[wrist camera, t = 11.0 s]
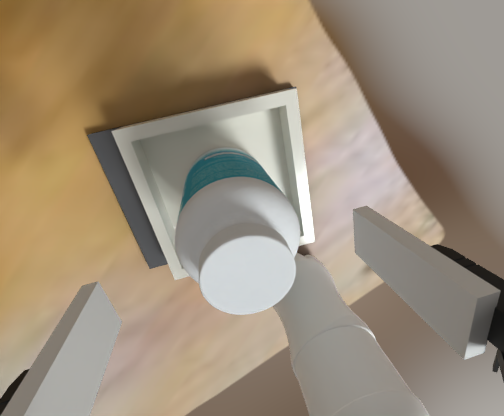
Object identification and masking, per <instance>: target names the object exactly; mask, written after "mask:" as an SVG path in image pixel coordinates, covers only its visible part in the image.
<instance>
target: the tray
mask: <svg viewBox="0 0 504 416" xmlns="http://www.w3.org/2000/svg"><path fill="white" fill-rule="evenodd" d="M112 134H113V136H114V138H115V141H116V143H117V145H118V148H119V150H120V152H121V155H122V157H123V160H124V162H125V164H126V167H127V169H128V171H129V174H130V176H131V178H132V181H133V183H134V185H135V188H136V190H137V192H138V195H139V197H140V199H141V202H142V204H143V206H144V209H145V211H146V213H147V216H148V218H149V220H150V223H151V225H152V227H153V230H154V232H155V234H156V237H157V239H158V241H159V244H160V246H161V248H162V251H163V253H164V255H165V258H166V260H167V263H168V265H169V267H170V270H171V272H172V274H173V277H174V279H175V280H177V279H181V278H184V277H188V276H190V275H189V274H188V273H187V272H186V271H185V269H184V268H183V266H182V265H181V263H180V261H179V259H178V256H177V252H176V247H175V231H176V226H177V220H178V216H179V211H180V205H181V200H182V195H183V189H184V184H185V180H186V176H187V173H188V171H189V169H190V167H191V166H192V164H193V163H194V162H195V161H196V159H197V158H199V157H200V156H201V155H203V154H204V153H206V152H208V151H210V150H213V149H216V148H222V147H230V148H236V149H240V150H242V151H245V152H247V153H248V154H250V155H251V156H253V157H254V158H255V159H256V160H257V161H258V162H259V164H260V165H261V166H262V167H263V169H264V170H265V171H266V173H267V174H268V175H269V176H270V178H271V179H272V180H273V181H274V183H275V184H276V185H277V186H278V188H279V189H280V190H281V191H282V193H283V194H284V195H285V196H286V198H287V199H288V200H289V202H290V203H291V205H292V206H293V208H294V210H295V212H296V214H297V217H298V220H299V225H300V242H299V246H301V245H304V244H308V243H312V242H315V238H314V230H313V221H312V213H311V205H310V196H309V188H308V179H307V171H306V162H305V154H304V146H303V137H302V129H301V120H300V112H299V103H298V95H297V88H295V89H284V90H280V91H276V92H271V93H267V94H263V95H258V96H254V97H250V98H245V99H241V100H237V101H232V102H228V103H224V104H219V105H215V106H211V107H206V108H202V109H198V110H193V111H189V112H185V113H180V114H176V115H172V116H167V117H163V118H159V119H154V120H150V121H146V122H141V123H137V124H133V125H128V126H124V127H121V128H119V129H116V130H113V131H112Z"/></svg>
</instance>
